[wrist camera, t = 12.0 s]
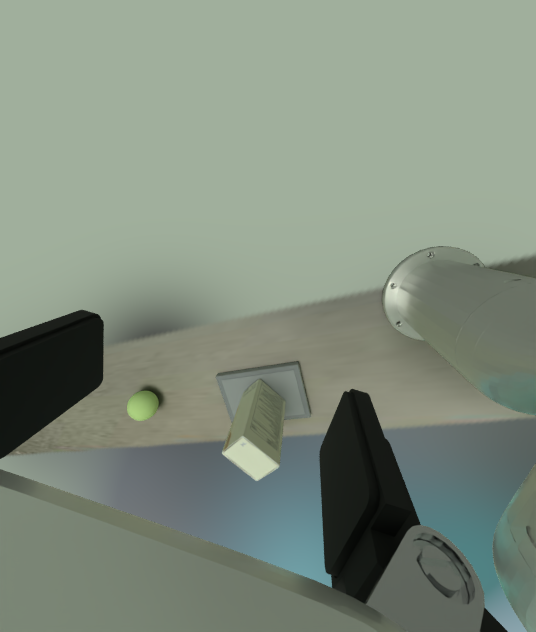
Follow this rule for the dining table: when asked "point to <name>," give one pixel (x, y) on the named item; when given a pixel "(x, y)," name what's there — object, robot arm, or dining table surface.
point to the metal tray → (277, 377)
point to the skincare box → (257, 431)
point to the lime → (142, 405)
